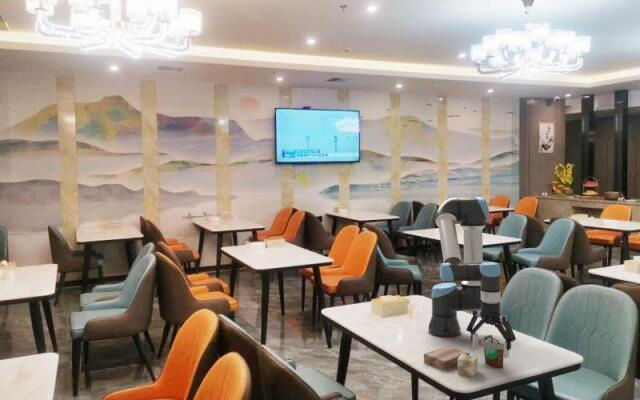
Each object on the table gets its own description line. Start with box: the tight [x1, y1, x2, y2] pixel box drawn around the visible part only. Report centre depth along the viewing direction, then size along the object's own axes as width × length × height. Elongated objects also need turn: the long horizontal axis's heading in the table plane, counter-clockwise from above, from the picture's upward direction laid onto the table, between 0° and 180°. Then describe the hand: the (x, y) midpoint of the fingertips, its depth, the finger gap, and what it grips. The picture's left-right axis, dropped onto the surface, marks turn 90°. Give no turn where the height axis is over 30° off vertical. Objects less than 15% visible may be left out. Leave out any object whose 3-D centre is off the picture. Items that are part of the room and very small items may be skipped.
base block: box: [423, 345, 470, 371], centre depth 215 cm, size 11×15×4 cm
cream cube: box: [457, 354, 479, 377], centre depth 203 cm, size 6×6×6 cm
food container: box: [481, 334, 505, 369], centre depth 211 cm, size 12×6×10 cm, turn 5°
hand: (490, 353), depth 211 cm, fingers open, 13 cm apart
